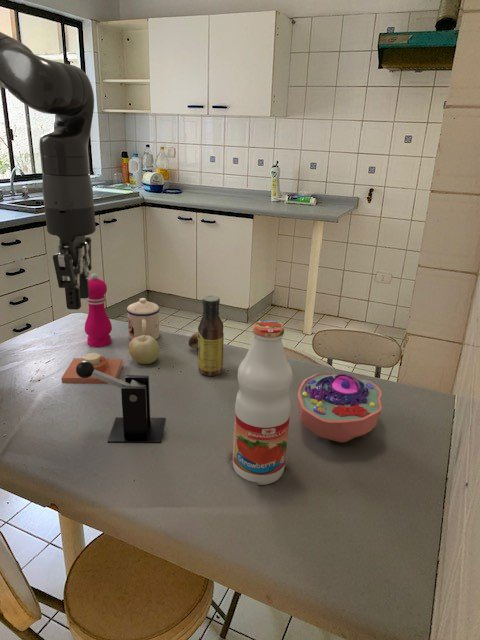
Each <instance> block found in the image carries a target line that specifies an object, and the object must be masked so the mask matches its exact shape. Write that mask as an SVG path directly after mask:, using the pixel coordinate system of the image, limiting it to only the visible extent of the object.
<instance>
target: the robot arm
mask: <svg viewBox="0 0 480 640" xmlns="http://www.w3.org/2000/svg"><path fill="white" fill-rule="evenodd" d="M0 87H1V88H3V89H6V90H7V91H8V92H9V93H10V94H11V95H12V96H14V97H15V98H16V99H17V100H18V101H20V102H21V103H22V104H23V105H25V106H27V107H28V108H30V109H32V110H34V111H36V112H39V113H42V114H46V115H54V122H53V128H52V130H51V131H49V132H46V133H44V134H42V135H41V136H40V138H39V155H40V165H41V173H42V174H41V175H42V176H41V177H42V182H41V183H42V184H41V185H42V188H41V189H42V198H43V208H44V216H45V224H46V225H45V226H46V231H47V233H48V234H49V235H52V236H56V237H58V238H59V241H58V243H59V245H58V246H57V253H53V255H52V261H53V267H54V270H55V271H54V272H55V275H56V280H57V286H58V288H59V289H64V295H65V303H66V309H68V310H74V311H75V310H76V311H77V310H80V309H81V308H82V300H81V299H84V300H85V299H86V298H88V297H89V285H88V280H89V278H90V274H91V273H90V271H92V269H93V267H92V237H90V235H92V234H94V233H95V232H96V228H97V227H96V215H95V201H94V200H95V199H94V189H93V184H92V180H91V169H90V157H89V141H90V136H91V131H92V125H93V117H94V111H95V94H94V88H93V86H92V81H90V78H89V76H88V75H87V73H86V72H85V71H84V70H83V69H82V68H80V67H78V66H77V65H73V64H70V63H69V64H68V63H65V62H60V61H56V60H51V59H47V58H44V57H41V56H39V55H37V54H35V53H34V52H33V51H32V50H31V49H30V48H29V47H28V46H27V45H25V44H24V43H22V42H21V41H19V40H17V39H15V38H14V37H11V36H9V35H8V34H6V33H4V32H1V31H0ZM68 278H69V280H68ZM86 300H87V299H86Z"/></svg>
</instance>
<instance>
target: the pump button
mask: <svg viewBox="0 0 480 640" xmlns="http://www.w3.org/2000/svg"><path fill="white" fill-rule="evenodd" d="M100 356H101V354H100V353H98V352H89V353H86V354H85V355H84V356H83V358H84V360H85V361H89V362H91V363H92V364H93V365H97V364H99V363H100V362H101V360H100Z"/></svg>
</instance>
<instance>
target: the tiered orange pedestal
mask: <svg viewBox="0 0 480 640" xmlns="http://www.w3.org/2000/svg"><path fill="white" fill-rule="evenodd" d="M100 360H101V362H100V363H99V364H97V365H93V366H94V369H95V370H97V371H100V372H102V373H105V374H107V375H110V376H112V377H115V378H117V379H119V377H120V375H121V372H122V370H123V368H124V363H123V362H124V361H123V358H106V357H105V356H103V355H100ZM82 361H85V360H84V357H82V358H81V357H79V358H78V357H74V358H73V359H72V360H71V361H70V364H69V365H68V367H67V368H66V370H65V371H64V373H63V375H62V376H61V379H60V380H61V384H106V385H107V384H109V383H107V382H104V381H102V380H99V379H97V378H94V377H92V376H90V377H89V378H81V377H79V376H78V375H77V373H76V367H77V365H78V364H79V363H80V362H82Z"/></svg>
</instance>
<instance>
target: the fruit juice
mask: <svg viewBox="0 0 480 640" xmlns="http://www.w3.org/2000/svg"><path fill="white" fill-rule="evenodd" d="M252 334H253V336H254V337H253V339H252V342H251V344H250V347H249V348H248V351H247V353H246V355H245V357H243V359H242V361H241V362H240V363H239V366H238V369H237V383H238V386H239V389H238V391H237V393H236V397H235V404H234V425H233V445H232V446H233V447H232V467H233V471H235V473H236V474H237V475H238V476H239V477H241V478H242V479H244V480H246V481H249V482H252V483H257V486H264V485H265V486H266V485H269V484H270V485H271V484H273V483H275V482H277V481H278V480H280V478H281V477H282V476H283V474H284V472H285V468H286V458H287V450H288V449H287V448H288V437H289V430H290V429H289V428H290V420H291V419H290V418H291V410H292V409H291V407H292V406H291V405H292V404H291V403H292V401H291V397H290V394H289V391H290V390H291V387H292V384H293V379H294V375H293V374H294V373H293V369H292V366H291V364H290V362H289V360H288V357H287V354H286V351H285V347H284V344H283V340H282V338H283V337H284V334H285V326H284V325H283V324H282V323H281V322H279V321H277V320H273V319H272V320H271V319H263V320H257V321H256V322H254V323H253V326H252Z"/></svg>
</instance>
